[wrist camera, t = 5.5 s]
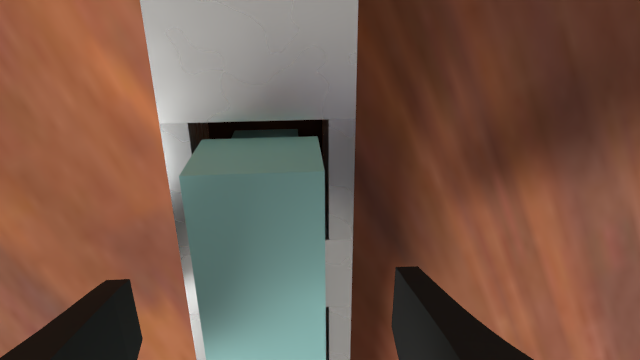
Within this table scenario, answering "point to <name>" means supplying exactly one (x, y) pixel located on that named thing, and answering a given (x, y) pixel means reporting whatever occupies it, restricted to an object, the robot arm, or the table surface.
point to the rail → (262, 107)
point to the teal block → (258, 244)
